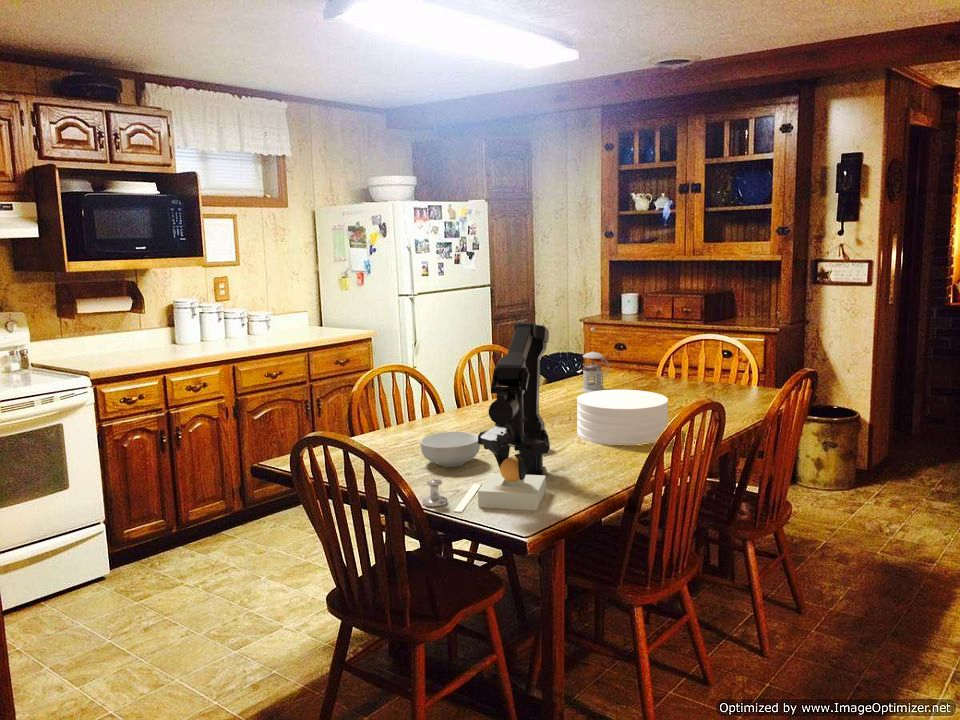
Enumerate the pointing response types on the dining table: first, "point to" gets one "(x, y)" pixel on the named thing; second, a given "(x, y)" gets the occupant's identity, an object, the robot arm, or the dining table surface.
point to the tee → (434, 495)
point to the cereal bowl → (450, 448)
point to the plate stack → (621, 416)
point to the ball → (510, 469)
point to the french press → (593, 373)
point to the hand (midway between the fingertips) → (512, 477)
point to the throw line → (467, 498)
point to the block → (512, 492)
